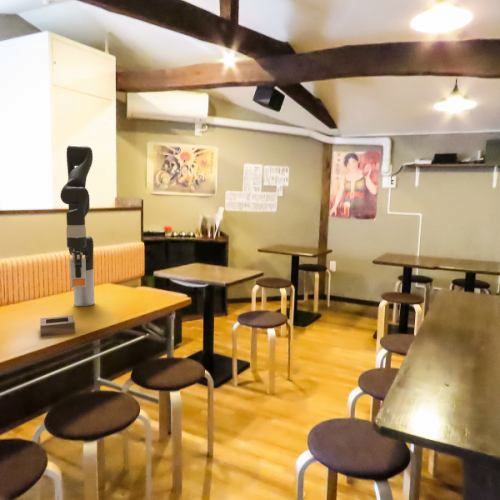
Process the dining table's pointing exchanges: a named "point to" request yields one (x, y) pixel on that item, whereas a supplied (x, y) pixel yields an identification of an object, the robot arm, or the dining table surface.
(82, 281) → the skincare box
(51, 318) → the grey slotted box
